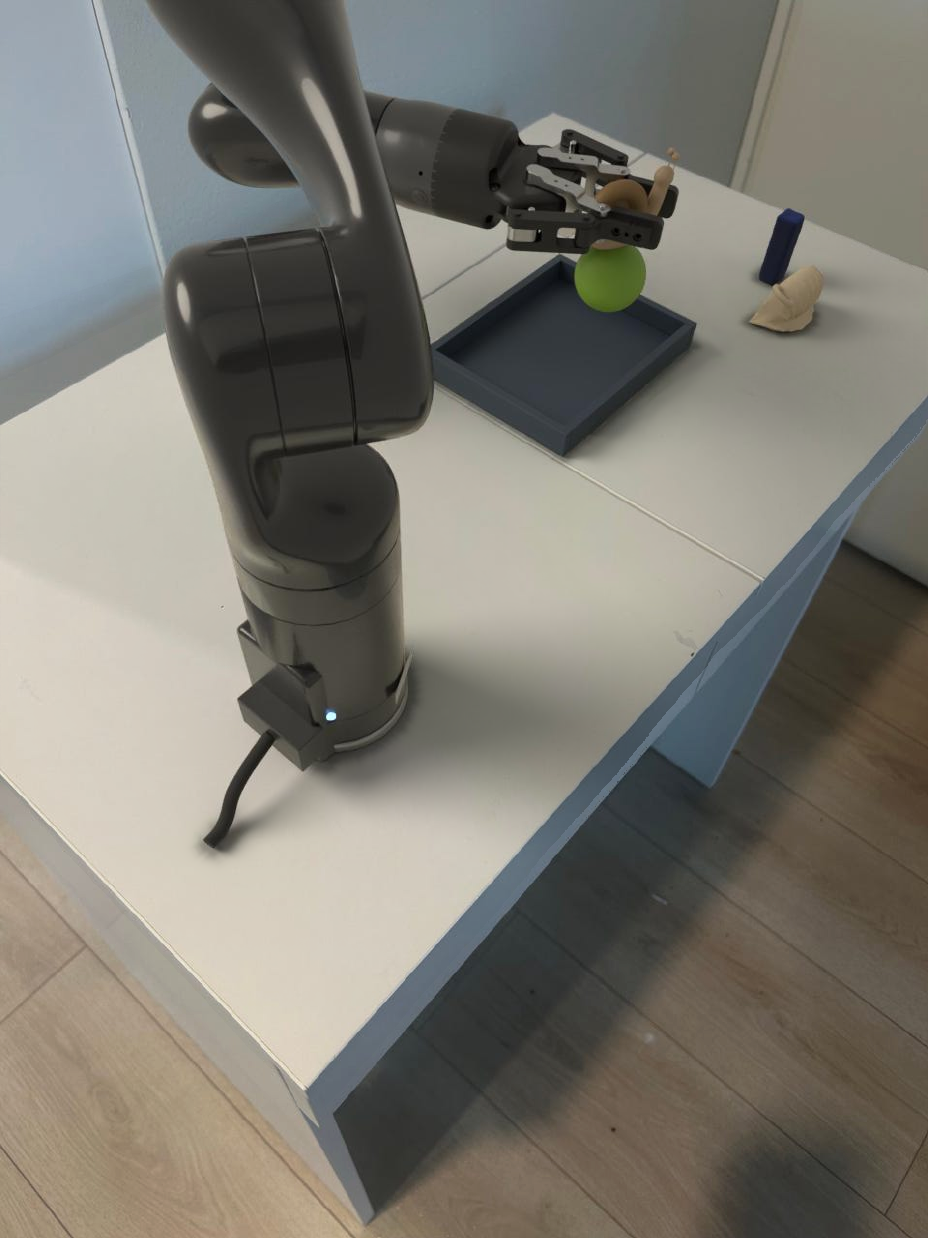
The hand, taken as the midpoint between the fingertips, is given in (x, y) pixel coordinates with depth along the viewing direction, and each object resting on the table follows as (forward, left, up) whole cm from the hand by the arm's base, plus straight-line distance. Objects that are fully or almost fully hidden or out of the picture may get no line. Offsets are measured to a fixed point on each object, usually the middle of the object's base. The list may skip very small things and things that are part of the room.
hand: (667, 218), depth 68 cm
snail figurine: (-1, +3, -8) cm, 9 cm away
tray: (+1, +8, -17) cm, 19 cm away
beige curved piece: (+20, -4, -18) cm, 27 cm away
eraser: (+25, 0, -18) cm, 31 cm away
